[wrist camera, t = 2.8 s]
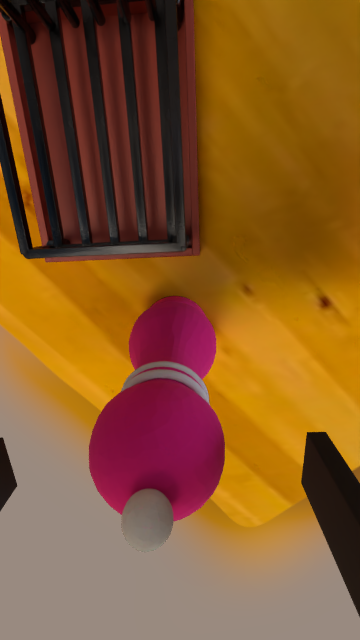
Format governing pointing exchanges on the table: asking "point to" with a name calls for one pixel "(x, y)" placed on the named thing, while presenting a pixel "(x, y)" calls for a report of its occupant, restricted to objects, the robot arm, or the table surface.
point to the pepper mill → (160, 426)
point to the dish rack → (103, 126)
